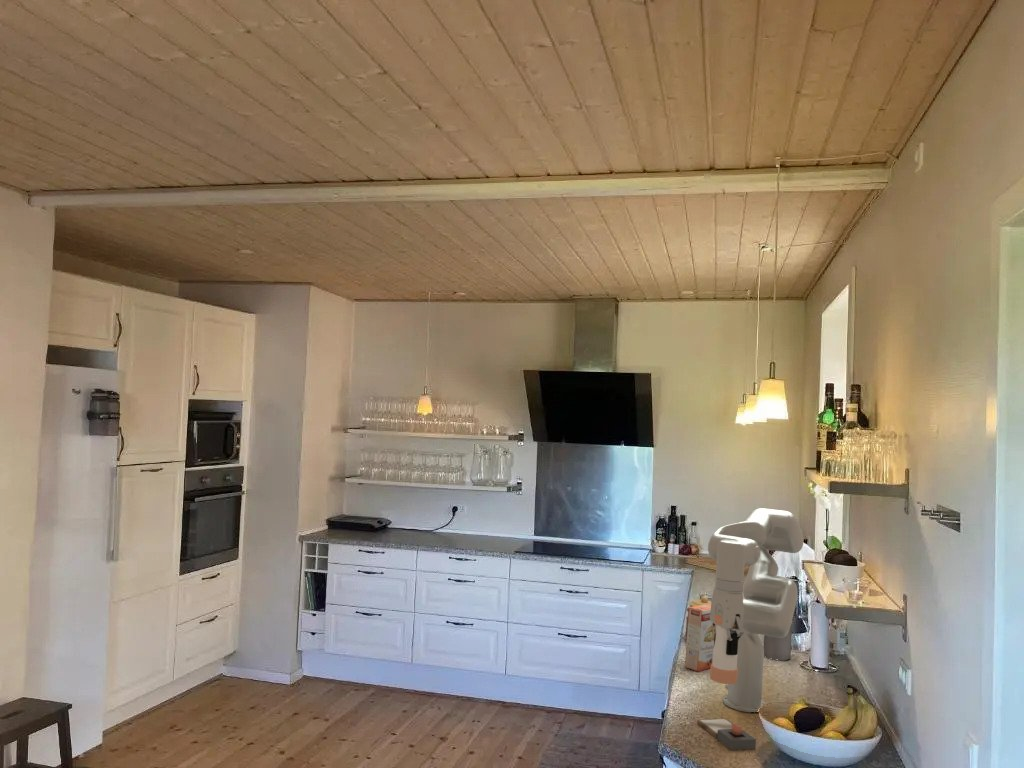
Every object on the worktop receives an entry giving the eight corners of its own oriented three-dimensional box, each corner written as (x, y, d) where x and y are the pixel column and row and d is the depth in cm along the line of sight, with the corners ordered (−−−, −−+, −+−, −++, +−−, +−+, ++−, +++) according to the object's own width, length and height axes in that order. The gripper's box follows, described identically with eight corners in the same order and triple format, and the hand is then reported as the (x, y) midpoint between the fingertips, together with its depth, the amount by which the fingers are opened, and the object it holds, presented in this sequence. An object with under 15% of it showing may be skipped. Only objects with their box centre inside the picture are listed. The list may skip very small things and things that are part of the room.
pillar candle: (767, 651, 293) (769, 611, 293) (793, 657, 287) (795, 616, 287) (759, 656, 285) (761, 616, 285) (786, 663, 279) (788, 621, 280)
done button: (729, 731, 204) (730, 723, 204) (738, 730, 205) (738, 723, 205) (735, 735, 202) (735, 727, 202) (743, 735, 203) (744, 727, 203)
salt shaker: (706, 680, 212) (710, 609, 212) (714, 673, 218) (718, 605, 219) (733, 686, 208) (737, 614, 209) (740, 679, 214) (744, 610, 215)
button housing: (717, 739, 206) (717, 729, 206) (740, 737, 208) (740, 728, 208) (731, 750, 199) (732, 740, 199) (755, 749, 201) (755, 739, 201)
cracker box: (698, 672, 261) (702, 610, 262) (684, 667, 265) (687, 606, 266) (722, 666, 270) (725, 606, 271) (707, 661, 275) (711, 602, 275)
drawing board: (697, 723, 216) (697, 719, 216) (725, 721, 218) (725, 717, 218) (716, 738, 206) (716, 734, 206) (745, 736, 209) (745, 732, 209)
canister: (706, 649, 290) (709, 601, 290) (678, 640, 299) (680, 594, 300) (725, 643, 298) (728, 598, 299) (697, 635, 308) (699, 590, 309)
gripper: (701, 578, 221) (697, 642, 220) (734, 592, 205) (730, 661, 204) (724, 578, 223) (720, 641, 222) (759, 592, 207) (755, 661, 206)
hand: (725, 650), depth 213 cm, fingers closed on salt shaker, 5 cm apart
